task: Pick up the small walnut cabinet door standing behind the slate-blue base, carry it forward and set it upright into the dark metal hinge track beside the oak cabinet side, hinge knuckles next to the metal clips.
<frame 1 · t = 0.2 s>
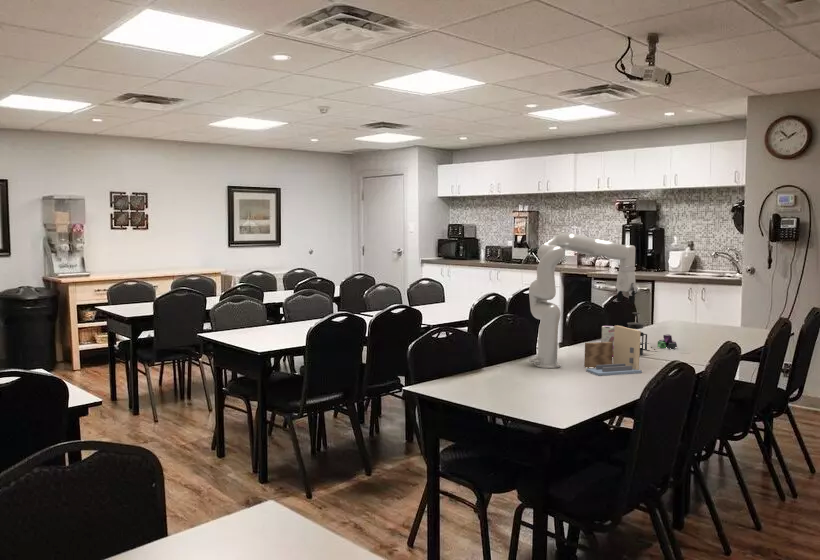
hand: (625, 302, 337), 31 cm above the table, tool pointing down, fingers open, 9 cm apart
mineral sample: (664, 349, 381), on the table
french press: (635, 354, 360), on the table
candy bar box: (611, 357, 352), on the table
door: (598, 366, 326), on the table
cabinet side: (615, 372, 314), on the table
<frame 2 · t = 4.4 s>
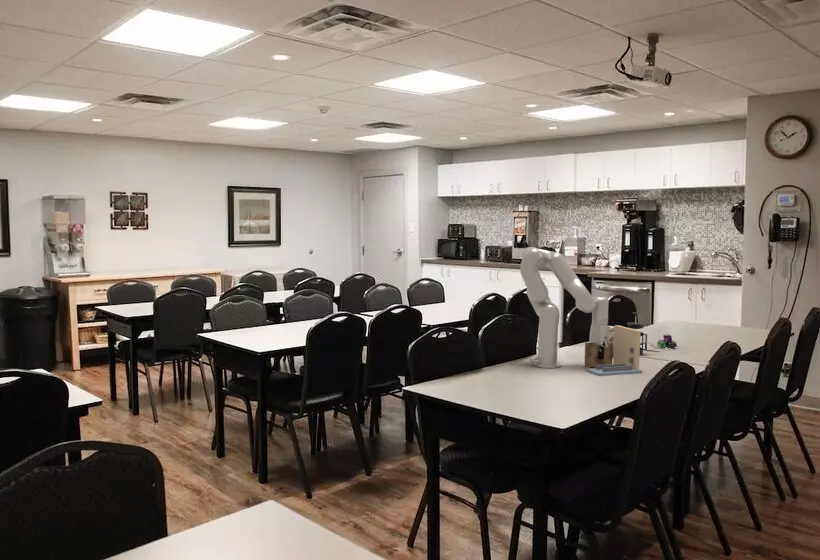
hand: (598, 358, 326), 4 cm above the table, tool pointing down, fingers closed on door, 3 cm apart
door: (598, 366, 326), on the table, touching gripper
everything else where it was.
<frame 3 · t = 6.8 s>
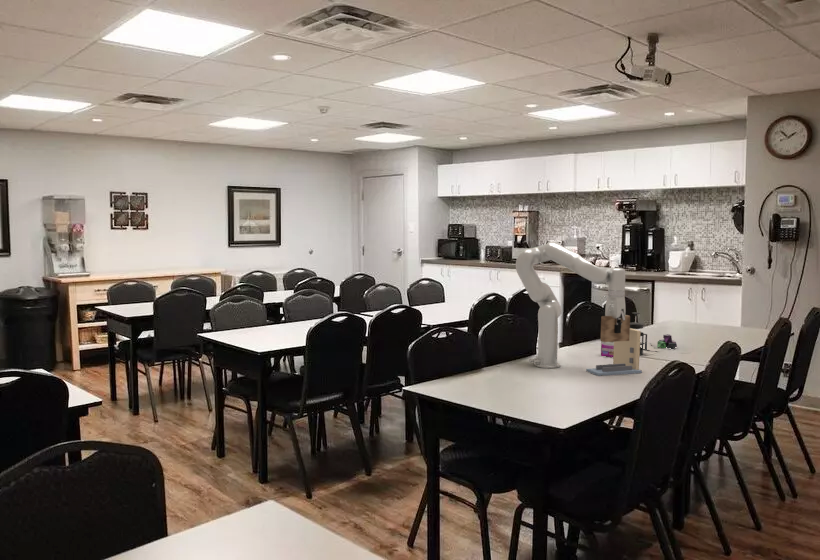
hand: (615, 332, 313), 19 cm above the table, tool pointing down, fingers closed on door, 3 cm apart
door: (614, 340, 313), point 15 cm above the table, touching gripper
everything else where it was.
when the fingers open (7 cm above the table, at t = 9.2 s): door drops 1 cm, resting on cabinet side.
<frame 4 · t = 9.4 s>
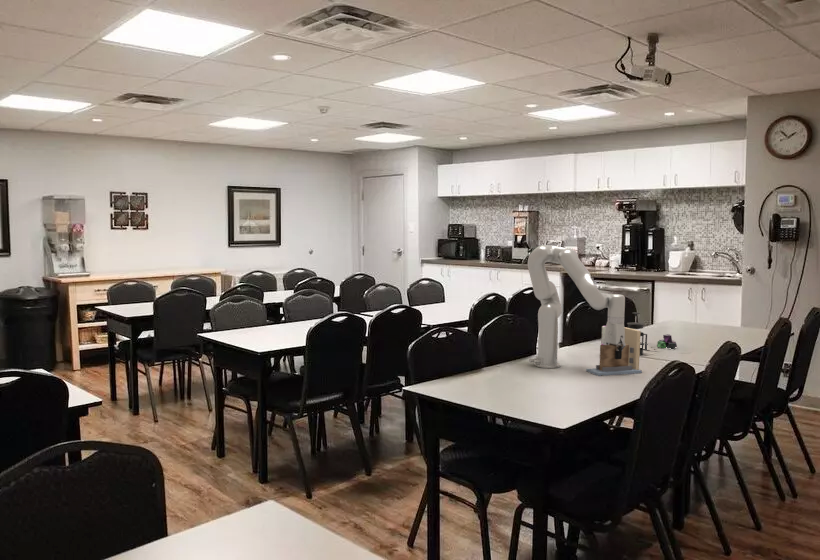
hand: (614, 357, 313), 7 cm above the table, tool pointing down, fingers open, 5 cm apart
door: (613, 369, 314), point 1 cm above the table, touching cabinet side
everything else where it was.
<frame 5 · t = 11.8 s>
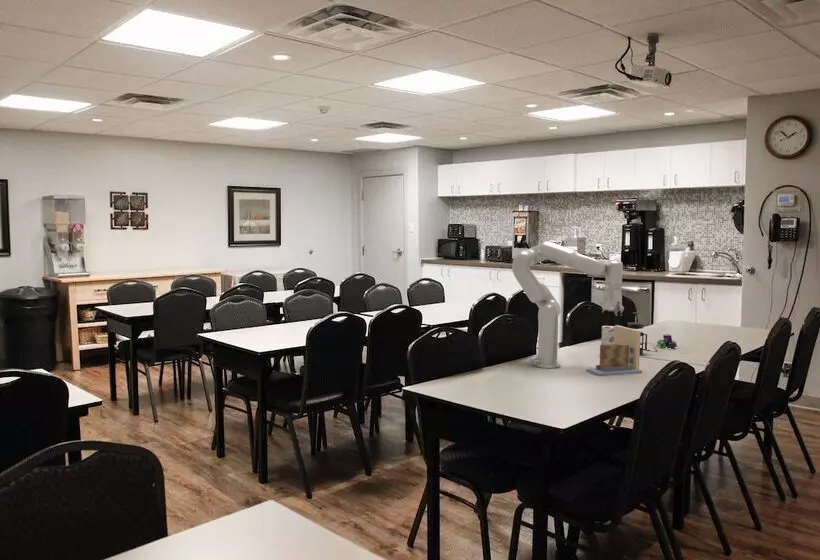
hand: (611, 322, 314), 24 cm above the table, tool pointing down, fingers open, 9 cm apart
nothing on the table moved.
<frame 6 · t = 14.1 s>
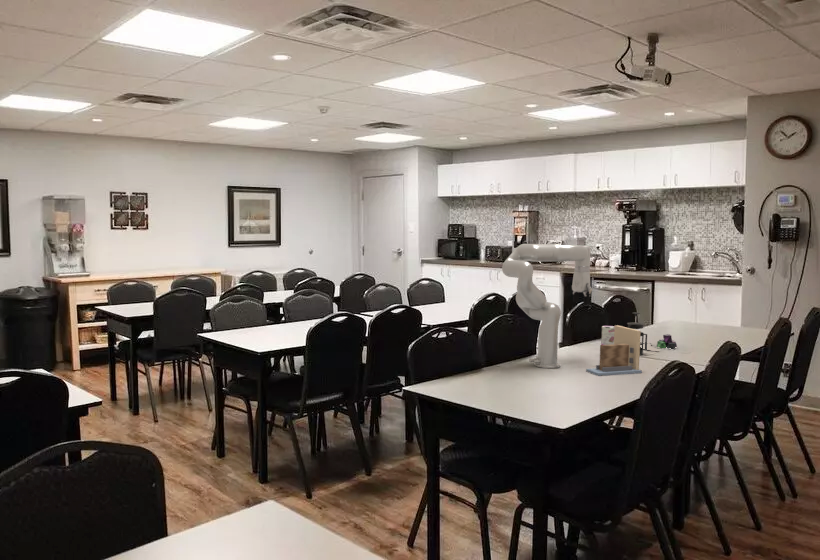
hand: (581, 302, 336), 30 cm above the table, tool pointing down, fingers open, 9 cm apart
nothing on the table moved.
at the end: door 0.1 cm from the target spot on the cabinet side, point 1.2 cm above the cabinet side's base; door tilted 0°; the gripper is holding nothing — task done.
